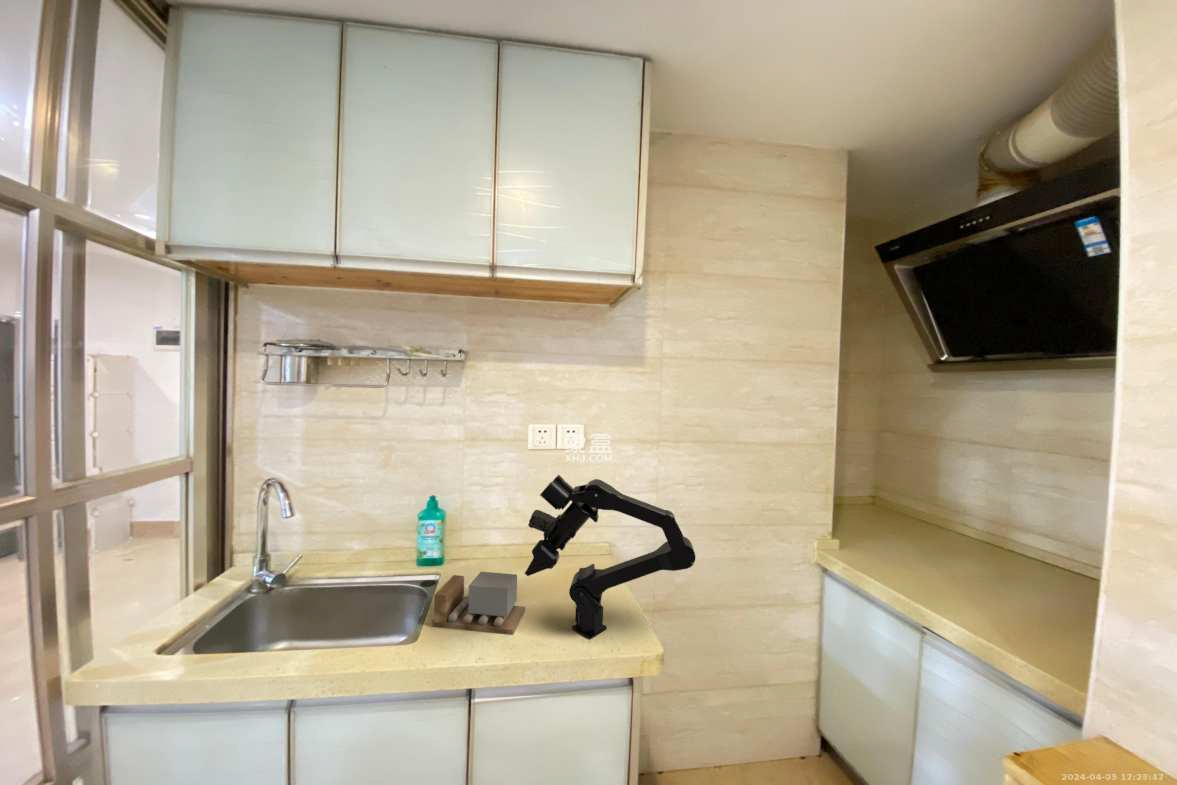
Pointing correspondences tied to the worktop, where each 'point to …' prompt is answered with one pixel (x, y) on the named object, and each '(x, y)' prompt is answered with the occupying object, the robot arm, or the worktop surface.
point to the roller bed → (489, 624)
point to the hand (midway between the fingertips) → (531, 566)
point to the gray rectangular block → (493, 593)
